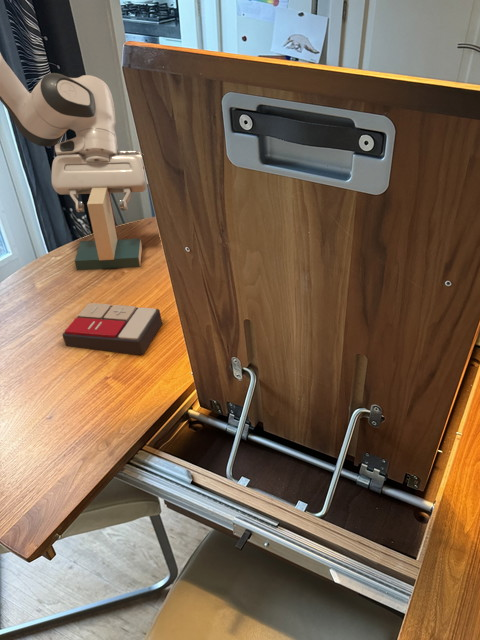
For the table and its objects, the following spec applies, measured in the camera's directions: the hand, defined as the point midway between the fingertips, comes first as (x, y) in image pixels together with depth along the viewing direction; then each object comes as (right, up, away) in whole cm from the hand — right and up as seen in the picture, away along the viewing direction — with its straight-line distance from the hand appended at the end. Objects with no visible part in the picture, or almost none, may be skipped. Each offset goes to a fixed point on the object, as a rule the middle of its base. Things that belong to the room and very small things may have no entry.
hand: (102, 210), depth 116 cm
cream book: (0, -8, +4) cm, 9 cm away
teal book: (0, -10, +6) cm, 12 cm away
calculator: (+8, -30, -17) cm, 35 cm away
